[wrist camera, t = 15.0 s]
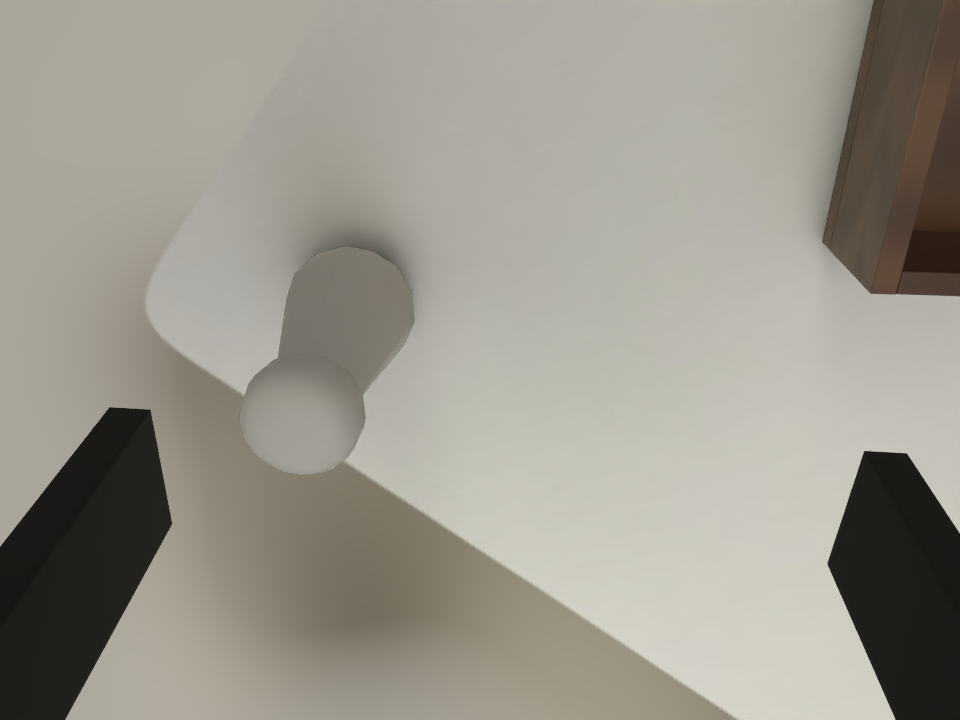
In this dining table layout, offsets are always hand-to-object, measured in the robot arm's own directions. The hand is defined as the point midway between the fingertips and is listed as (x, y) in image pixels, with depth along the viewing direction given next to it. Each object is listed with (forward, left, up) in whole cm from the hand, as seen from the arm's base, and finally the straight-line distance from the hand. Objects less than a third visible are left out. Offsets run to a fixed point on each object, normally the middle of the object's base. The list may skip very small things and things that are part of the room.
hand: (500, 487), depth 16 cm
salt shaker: (+2, -9, -24) cm, 26 cm away
